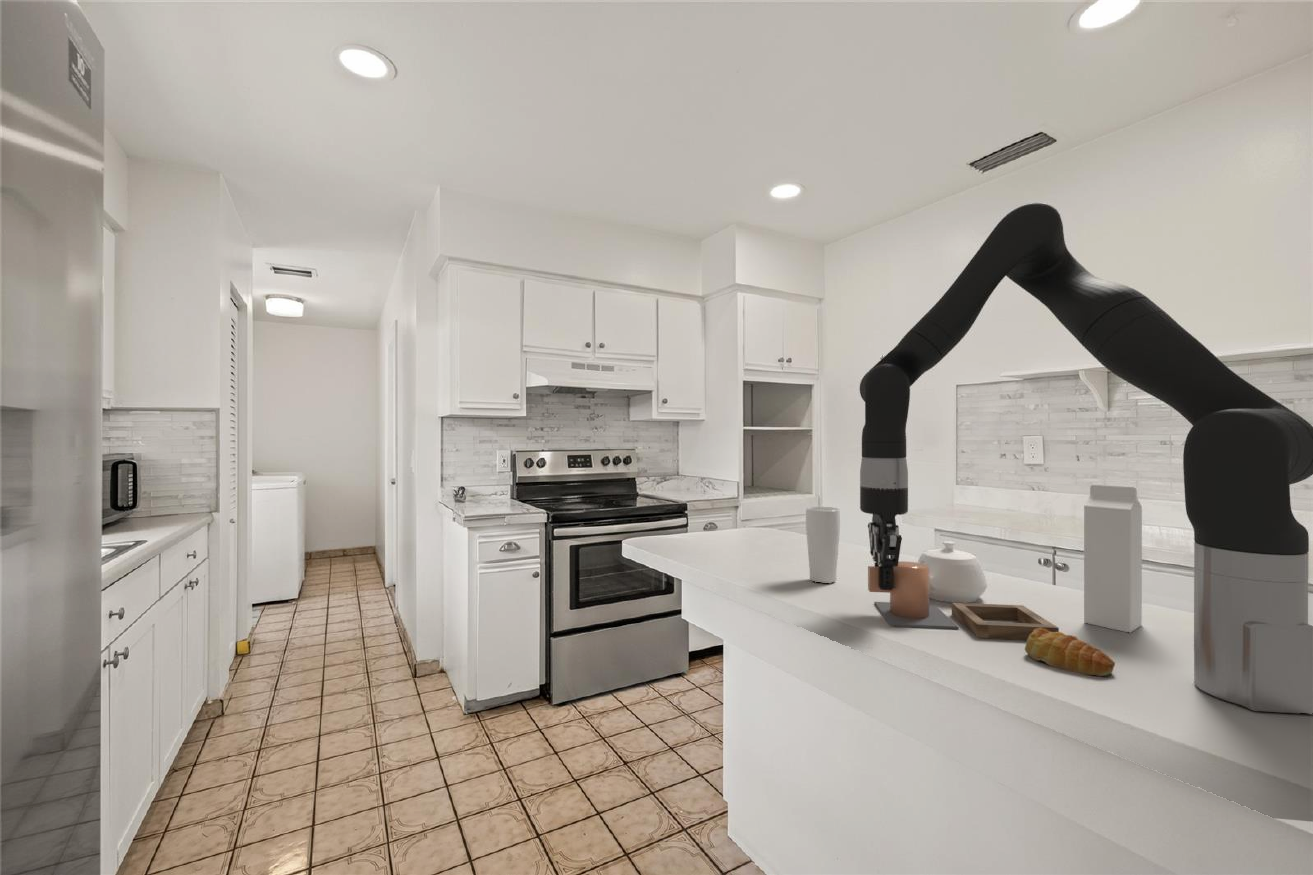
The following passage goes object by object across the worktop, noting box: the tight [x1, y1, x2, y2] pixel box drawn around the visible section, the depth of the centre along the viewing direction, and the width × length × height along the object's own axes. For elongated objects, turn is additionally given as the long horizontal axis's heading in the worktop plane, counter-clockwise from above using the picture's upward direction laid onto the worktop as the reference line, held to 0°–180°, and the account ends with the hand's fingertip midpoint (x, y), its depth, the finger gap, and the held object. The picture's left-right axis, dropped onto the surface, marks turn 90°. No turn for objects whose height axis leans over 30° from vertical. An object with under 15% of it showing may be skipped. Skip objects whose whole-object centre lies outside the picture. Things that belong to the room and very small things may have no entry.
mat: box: [874, 601, 960, 630], centre depth 96 cm, size 12×10×1 cm
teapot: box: [916, 540, 988, 603], centre depth 107 cm, size 20×12×10 cm, turn 126°
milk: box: [1083, 484, 1143, 634], centre depth 91 cm, size 6×6×22 cm
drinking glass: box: [805, 506, 841, 584], centre depth 119 cm, size 7×7×15 cm
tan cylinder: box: [867, 561, 930, 619], centre depth 96 cm, size 10×6×8 cm, turn 81°
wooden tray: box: [951, 602, 1060, 641], centre depth 90 cm, size 11×11×2 cm
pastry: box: [1024, 628, 1116, 677], centre depth 76 cm, size 9×7×4 cm
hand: (883, 586), depth 97 cm, fingers open, 2 cm apart
